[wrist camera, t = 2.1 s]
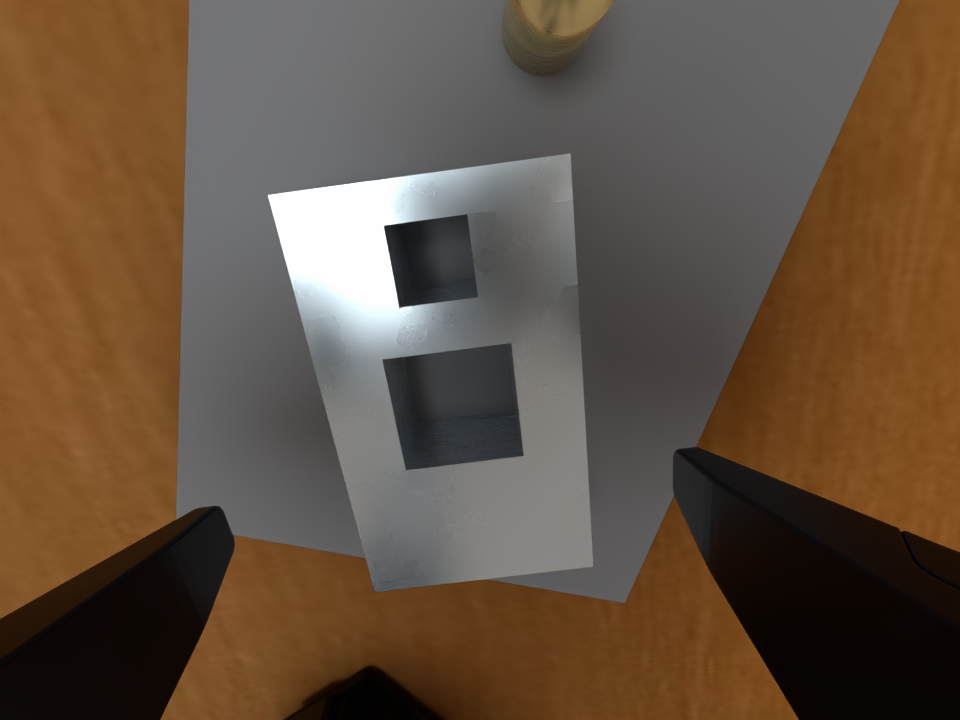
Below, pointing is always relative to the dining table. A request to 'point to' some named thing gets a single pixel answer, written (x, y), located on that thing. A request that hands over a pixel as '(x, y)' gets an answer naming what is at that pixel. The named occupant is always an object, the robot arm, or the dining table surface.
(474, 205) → the silver rectangular block
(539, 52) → the pair of brass cylinders
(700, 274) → the mount board
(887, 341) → the dining table surface
